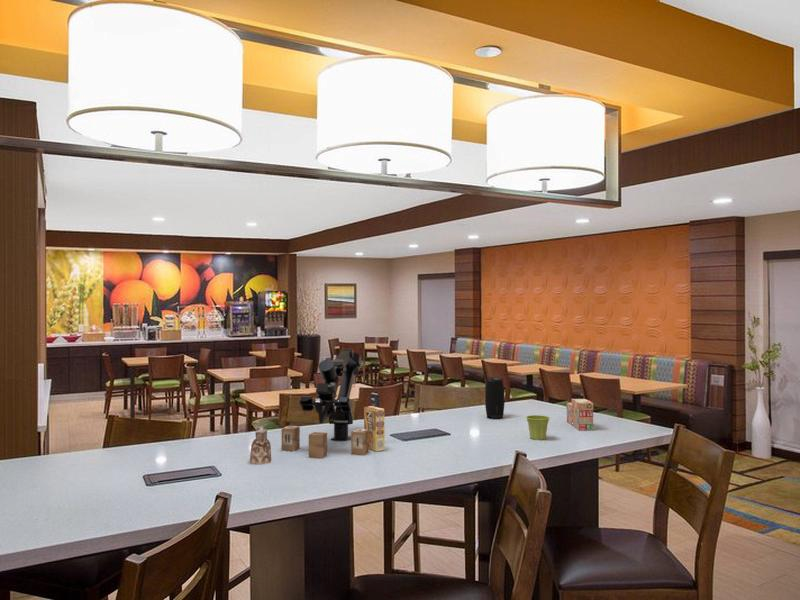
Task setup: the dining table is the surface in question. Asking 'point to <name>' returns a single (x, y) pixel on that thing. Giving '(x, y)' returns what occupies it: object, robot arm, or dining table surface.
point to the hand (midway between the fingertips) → (320, 422)
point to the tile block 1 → (290, 438)
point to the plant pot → (537, 426)
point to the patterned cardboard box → (580, 414)
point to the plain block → (317, 445)
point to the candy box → (375, 427)
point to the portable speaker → (494, 397)
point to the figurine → (260, 447)
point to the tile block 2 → (359, 442)
